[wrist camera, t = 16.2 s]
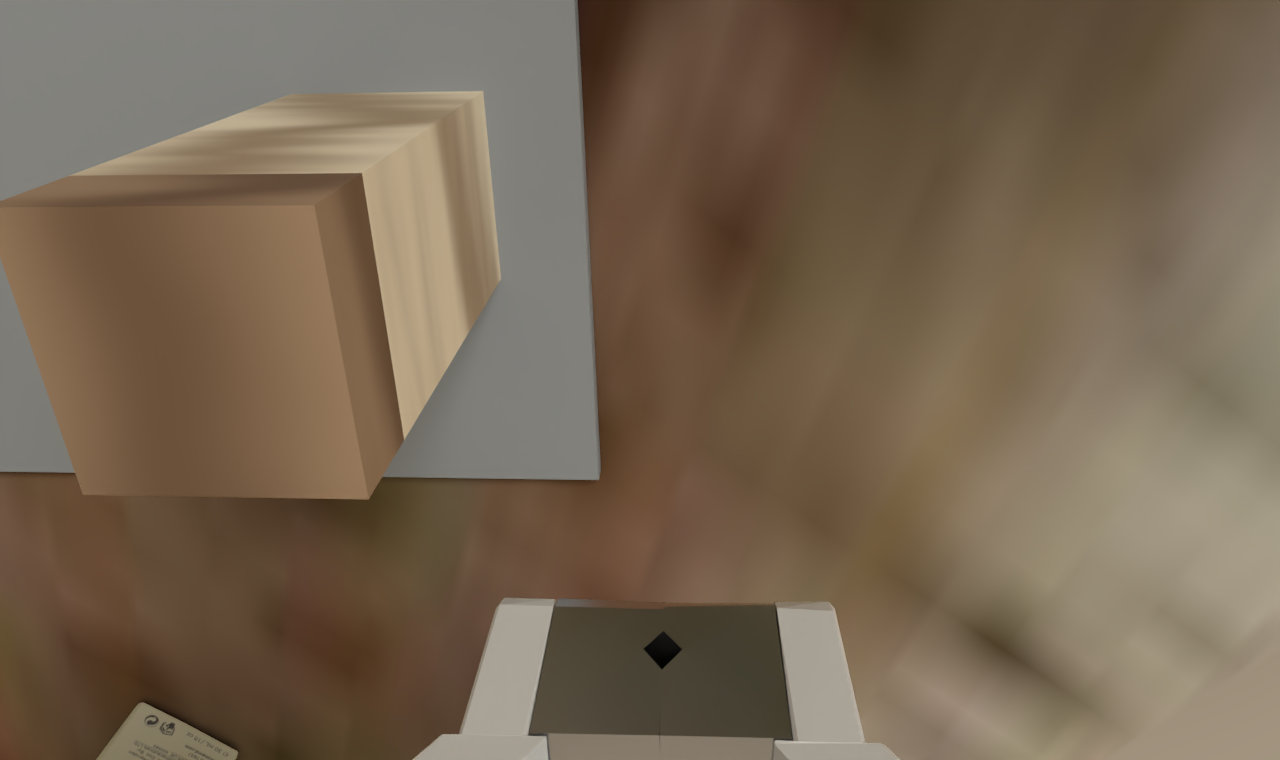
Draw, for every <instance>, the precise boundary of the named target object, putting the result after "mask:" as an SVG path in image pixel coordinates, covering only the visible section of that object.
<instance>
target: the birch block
mask: <svg viewBox="0 0 1280 760" xmlns="http://www.w3.org/2000/svg"><path fill="white" fill-rule="evenodd" d="M0 259H1V261H2V264H3V267H4V270H5V273H6V276H7V279H8V281H9V284H10V287H11V290H12V293H13V296H14V299H15V302H16V304H17V307H18V310H19V313H20V316H21V319H22V322H23V325H24V327H25V330H26V333H27V336H28V339H29V342H30V345H31V348H32V350H33V353H34V356H35V359H36V362H37V365H38V368H39V371H40V373H41V376H42V379H43V382H44V385H45V388H46V391H47V394H48V396H49V399H50V402H51V405H52V408H53V411H54V414H55V416H56V419H57V422H58V425H59V428H60V431H61V434H62V437H63V439H64V442H65V445H66V448H67V451H68V454H69V457H70V460H71V462H72V465H73V468H74V471H75V474H76V477H77V480H78V483H79V485H80V488H81V491H82V494H83V495H119V496H183V497H246V498H310V499H369V498H370V496H371V495H372V493H373V491H374V490H375V488H376V486H377V485H378V483H379V481H380V480H381V478H382V476H383V475H384V473H385V471H386V470H387V468H388V466H389V465H390V463H391V461H392V460H393V458H394V456H395V455H396V453H397V451H398V450H399V448H400V446H401V445H402V443H403V441H404V440H405V438H406V436H407V435H408V433H409V431H410V430H411V428H412V426H413V425H414V423H415V421H416V420H417V418H418V416H419V415H420V413H421V411H422V410H423V408H424V406H425V405H426V403H427V401H428V400H429V398H430V396H431V395H432V393H433V391H434V390H435V388H436V386H437V385H438V383H439V381H440V380H441V378H442V376H443V375H444V373H445V371H446V370H447V368H448V366H449V365H450V363H451V361H452V360H453V358H454V356H455V355H456V353H457V351H458V350H459V348H460V346H461V345H462V343H463V341H464V340H465V338H466V336H467V335H468V333H469V331H470V330H471V328H472V326H473V325H474V323H475V321H476V320H477V318H478V316H479V315H480V313H481V311H482V310H483V308H484V306H485V305H486V303H487V301H488V300H489V298H490V296H491V295H492V293H493V291H494V290H495V288H496V286H497V285H498V283H499V281H500V280H501V272H500V262H499V251H498V241H497V230H496V220H495V209H494V199H493V188H492V178H491V168H490V157H489V147H488V136H487V126H486V115H485V105H484V94H483V91H456V92H390V93H325V94H290V95H287V96H284V97H282V98H279V99H276V100H273V101H271V102H268V103H265V104H263V105H260V106H257V107H254V108H252V109H249V110H246V111H243V112H241V113H238V114H235V115H233V116H230V117H227V118H224V119H222V120H219V121H216V122H214V123H211V124H208V125H205V126H203V127H200V128H197V129H195V130H192V131H189V132H186V133H184V134H181V135H178V136H176V137H173V138H170V139H167V140H165V141H162V142H159V143H157V144H154V145H151V146H148V147H146V148H143V149H140V150H138V151H135V152H132V153H129V154H127V155H124V156H121V157H118V158H116V159H113V160H110V161H108V162H105V163H102V164H99V165H97V166H94V167H91V168H89V169H86V170H83V171H80V172H78V173H75V174H72V175H70V176H67V177H64V178H61V179H59V180H56V181H53V182H51V183H48V184H45V185H42V186H40V187H37V188H34V189H32V190H29V191H26V192H23V193H21V194H18V195H15V196H13V197H10V198H7V199H4V200H2V201H0Z"/></svg>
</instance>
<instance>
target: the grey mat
mask: <svg viewBox="0 0 1280 760" xmlns="http://www.w3.org/2000/svg"><path fill="white" fill-rule="evenodd" d="M456 91H483V94H484V105H485V115H486V126H487V136H488V147H489V157H490V168H491V178H492V188H493V199H494V209H495V220H496V230H497V241H498V251H499V262H500V272H501V280H500V281H499V283H498V285H497V286H496V288H495V290H494V291H493V293H492V295H491V296H490V298H489V300H488V301H487V303H486V305H485V306H484V308H483V310H482V311H481V313H480V315H479V316H478V318H477V320H476V321H475V323H474V325H473V326H472V328H471V330H470V331H469V333H468V335H467V336H466V338H465V340H464V341H463V343H462V345H461V346H460V348H459V350H458V351H457V353H456V355H455V356H454V358H453V360H452V361H451V363H450V365H449V366H448V368H447V370H446V371H445V373H444V375H443V376H442V378H441V380H440V381H439V383H438V385H437V386H436V388H435V390H434V391H433V393H432V395H431V396H430V398H429V400H428V401H427V403H426V405H425V406H424V408H423V410H422V411H421V413H420V415H419V416H418V418H417V420H416V421H415V423H414V425H413V426H412V428H411V430H410V431H409V433H408V435H407V436H406V438H405V440H404V441H403V443H402V445H401V446H400V448H399V450H398V451H397V453H396V455H395V456H394V458H393V460H392V461H391V463H390V465H389V466H388V468H387V470H386V471H385V473H384V475H383V476H382V477H419V478H490V479H561V480H599V476H600V471H601V465H600V444H599V424H598V404H597V384H596V364H595V343H594V323H593V303H592V283H591V262H590V242H589V222H588V202H587V182H586V161H585V141H584V121H583V101H582V80H581V60H580V40H579V20H578V0H0V201H2V200H4V199H7V198H10V197H13V196H15V195H18V194H21V193H23V192H26V191H29V190H32V189H34V188H37V187H40V186H42V185H45V184H48V183H51V182H53V181H56V180H59V179H61V178H64V177H67V176H70V175H72V174H75V173H78V172H80V171H83V170H86V169H89V168H91V167H94V166H97V165H99V164H102V163H105V162H108V161H110V160H113V159H116V158H118V157H121V156H124V155H127V154H129V153H132V152H135V151H138V150H140V149H143V148H146V147H148V146H151V145H154V144H157V143H159V142H162V141H165V140H167V139H170V138H173V137H176V136H178V135H181V134H184V133H186V132H189V131H192V130H195V129H197V128H200V127H203V126H205V125H208V124H211V123H214V122H216V121H219V120H222V119H224V118H227V117H230V116H233V115H235V114H238V113H241V112H243V111H246V110H249V109H252V108H254V107H257V106H260V105H263V104H265V103H268V102H271V101H273V100H276V99H279V98H282V97H284V96H287V95H290V94H325V93H390V92H456ZM0 472H64V473H75V471H74V468H73V465H72V462H71V460H70V457H69V454H68V451H67V448H66V445H65V442H64V439H63V437H62V434H61V431H60V428H59V425H58V422H57V419H56V416H55V414H54V411H53V408H52V405H51V402H50V399H49V396H48V394H47V391H46V388H45V385H44V382H43V379H42V376H41V373H40V371H39V368H38V365H37V362H36V359H35V356H34V353H33V350H32V348H31V345H30V342H29V339H28V336H27V333H26V330H25V327H24V325H23V322H22V319H21V316H20V313H19V310H18V307H17V304H16V302H15V299H14V296H13V293H12V290H11V287H10V284H9V281H8V279H7V276H6V273H5V270H4V267H3V264H2V261H1V259H0Z"/></svg>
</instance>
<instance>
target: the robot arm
mask: <svg viewBox="0 0 1280 760" xmlns="http://www.w3.org/2000/svg"><path fill="white" fill-rule="evenodd" d="M412 760H901V759H899V758H898V757H897V756H896V755H895V754H894V753H893V752H892V751H891V750H890V749H889V748H888V747H887V746H886V745H885V744H883V743H865V739H864V735H863V731H862V726H861V722H860V717H859V713H858V709H857V704H856V700H855V696H854V691H853V687H852V682H851V678H850V674H849V669H848V665H847V661H846V656H845V652H844V647H843V643H842V639H841V634H840V630H839V626H838V621H837V617H836V613H835V608H834V607H833V606H832V605H831V604H830V603H829V602H774V605H773V604H759V603H665V602H639V601H610V600H582V599H558V601H557V600H554V599H530V598H504V599H503V600H502V601H501V602H500V604H499V605H498V606H497V608H496V610H495V613H494V617H493V620H492V624H491V627H490V630H489V634H488V637H487V640H486V644H485V647H484V651H483V654H482V657H481V661H480V664H479V668H478V671H477V674H476V678H475V681H474V685H473V688H472V691H471V695H470V698H469V702H468V705H467V708H466V712H465V715H464V719H463V722H462V725H461V729H460V732H459V734H441V735H440V736H439V737H438V738H437V739H435V740H434V741H433V742H432V743H431V744H430V745H428V746H427V747H426V748H425V749H424V750H423V751H421V752H420V753H419V754H418V755H417V756H416V757H414V758H413V759H412Z"/></svg>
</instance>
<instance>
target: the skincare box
mask: <svg viewBox="0 0 1280 760" xmlns="http://www.w3.org/2000/svg"><path fill="white" fill-rule="evenodd" d="M238 754H239V753H238V751H236V750H234V749H232V748H231V747H229V746H227V745H225V744H223V743H221V742H219V741H218V740H216V739H214V738H212V737H210V736H208V735H207V734H205V733H203V732H201V731H199V730H197V729H195V728H193V727H192V726H190V725H188V724H186V723H184V722H182V721H180V720H178V719H176V718H174V717H172V716H170V715H168V714H166V713H164V712H162V711H160V710H158V709H156V708H154V707H152V706H150V705H148V704H146V703H144V702H141V703H139V704H138V705H137V706H136V707H135V708H134V710H133V711H132V712H131V714H130V715H129V716H128V717H127V719H126V720H125V721H124V723H123V724H122V725H121V727H120V728H119V729H118V731H117V732H116V733H115V735H114V736H113V737H112V739H111V740H110V741H109V743H108V744H107V745H106V747H105V748H104V749H103V751H102V752H101V754H100V755H99V756H98V758H97V759H96V760H236V759H237V756H238Z"/></svg>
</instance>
